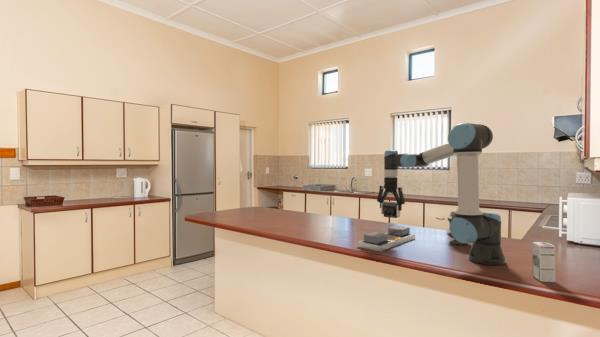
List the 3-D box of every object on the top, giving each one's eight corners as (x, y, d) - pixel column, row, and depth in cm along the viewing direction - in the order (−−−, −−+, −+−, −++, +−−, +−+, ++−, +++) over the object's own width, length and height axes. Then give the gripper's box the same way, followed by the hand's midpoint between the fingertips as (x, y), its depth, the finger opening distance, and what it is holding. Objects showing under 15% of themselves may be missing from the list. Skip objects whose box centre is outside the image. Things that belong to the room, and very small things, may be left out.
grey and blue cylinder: (469, 241, 194) (469, 211, 194) (470, 246, 183) (470, 214, 183) (447, 240, 199) (447, 210, 199) (446, 244, 188) (446, 213, 188)
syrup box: (556, 282, 128) (556, 245, 128) (539, 281, 129) (539, 244, 129) (547, 277, 134) (548, 242, 134) (531, 276, 135) (531, 241, 135)
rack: (415, 238, 202) (415, 227, 202) (380, 251, 174) (380, 238, 174) (394, 235, 212) (394, 224, 212) (358, 246, 184) (358, 234, 184)
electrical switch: (400, 217, 192) (399, 201, 191) (397, 219, 188) (396, 203, 187) (384, 215, 198) (384, 200, 197) (381, 217, 193) (381, 202, 192)
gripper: (411, 177, 187) (411, 216, 188) (377, 175, 203) (377, 212, 203) (405, 177, 182) (404, 218, 182) (371, 176, 198) (370, 213, 198)
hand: (390, 215), depth 193 cm, fingers closed on electrical switch, 9 cm apart
